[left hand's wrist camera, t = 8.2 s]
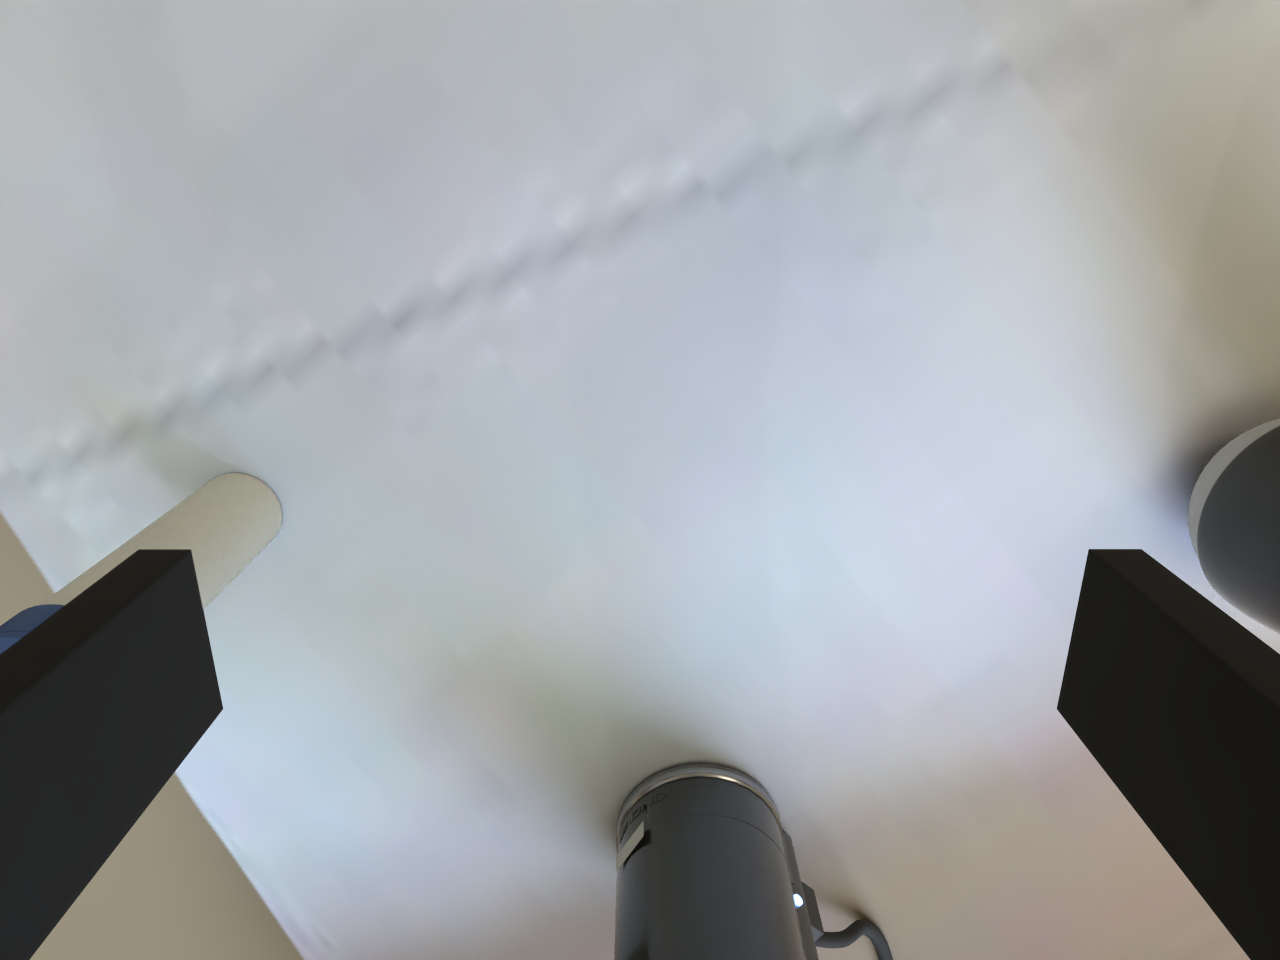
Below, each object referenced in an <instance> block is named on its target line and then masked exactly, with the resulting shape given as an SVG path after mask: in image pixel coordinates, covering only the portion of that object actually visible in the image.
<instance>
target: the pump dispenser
mask: <svg viewBox="0 0 1280 960" xmlns="http://www.w3.org/2000/svg"><path fill="white" fill-rule="evenodd" d="M1188 525H1189V532H1190V537H1191V541H1192V544H1193V547H1194V549H1195V552H1196V554H1197V556H1198V558H1199V561H1200V564H1201V567H1202V570H1203V572H1204V574H1205V576H1206V578H1207V580H1208V582H1209V583H1210V584H1211V586H1212V587H1213V588H1214V590H1215V591H1216V592H1217V593H1218V594H1219V595H1220V596H1221V597H1222V598H1223V599H1225V600H1226V601H1227V602H1228V603H1230V604H1231V605H1232V606H1234V607H1235V608H1236V609H1238V610H1239V611H1241V612H1242V613H1244V614H1245V615H1247V616H1248V617H1250V618H1252V619H1253V620H1255V621H1257V622H1258V623H1260V624H1262V625H1264V626H1266V627H1268V628H1270V629H1272V630H1273V631H1275V632H1277V633H1279V634H1280V418H1278V419H1275V420H1272V421H1268V422H1266V423H1263V424H1260V425H1258V426H1256V427H1254V428H1252V429H1250V430H1248V431H1246V432H1244V433H1242V434H1240V435H1239V436H1237V437H1236V438H1234V439H1233V440H1231V441H1230V442H1229V443H1228V444H1226V445H1225V446H1224V447H1223V448H1222V449H1221V450H1220V451H1218V452H1217V453H1216V454H1215V456H1214V457H1213V458H1212V459H1211V460H1210V461H1209V462H1208V464H1207V465H1206V466H1205V468H1204V469H1203V471H1202V473H1201V474H1200V476H1199V478H1198V480H1197V482H1196V484H1195V487H1194V489H1193V492H1192V495H1191V499H1190V504H1189V512H1188Z"/></svg>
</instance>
